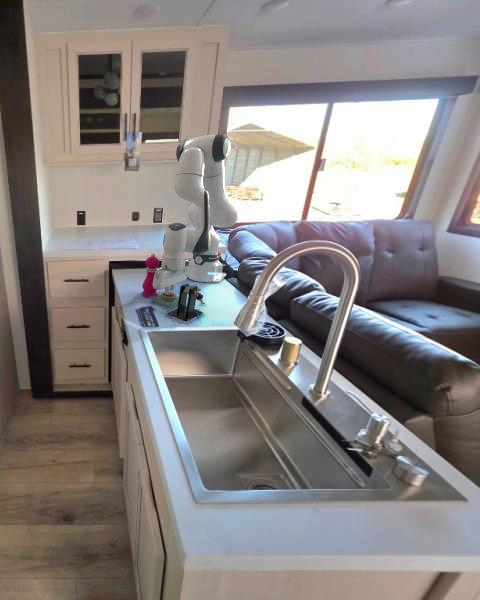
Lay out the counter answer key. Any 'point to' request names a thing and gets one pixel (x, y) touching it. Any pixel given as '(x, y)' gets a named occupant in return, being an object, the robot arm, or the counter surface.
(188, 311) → the bracket
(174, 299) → the button box
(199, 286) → the soupspoon
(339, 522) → the counter surface
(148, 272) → the pepper mill
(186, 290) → the lever
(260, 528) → the counter surface
